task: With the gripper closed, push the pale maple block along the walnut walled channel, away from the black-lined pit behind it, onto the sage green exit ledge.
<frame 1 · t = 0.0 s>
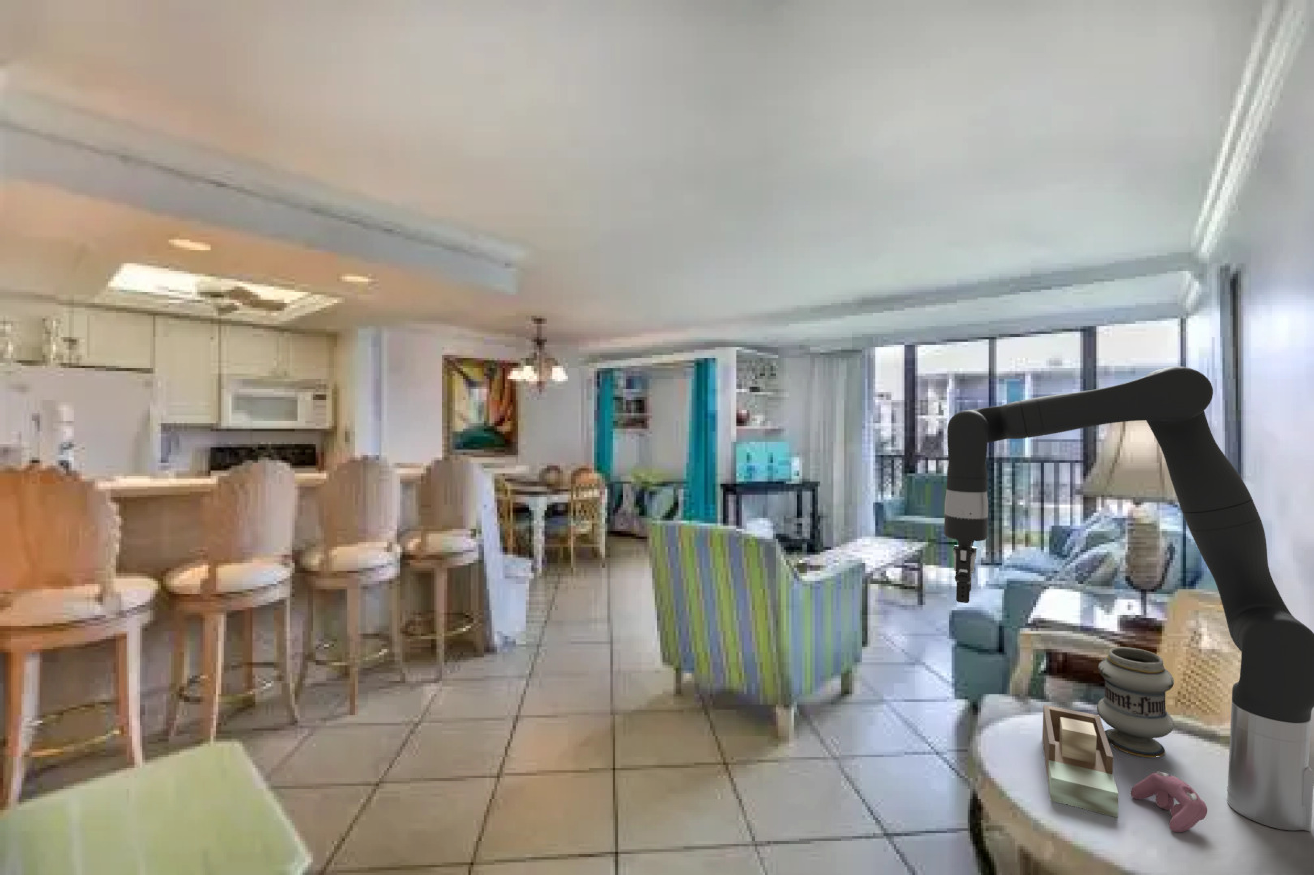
hand: (963, 596, 123), 29 cm above the table, tool pointing down, fingers open, 8 cm apart
video game controller: (1167, 816, 103), on the table
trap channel: (1074, 769, 116), on the table
maple block: (1076, 753, 114), point 4 cm above the table, touching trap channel
apothecary jar: (1132, 745, 125), on the table
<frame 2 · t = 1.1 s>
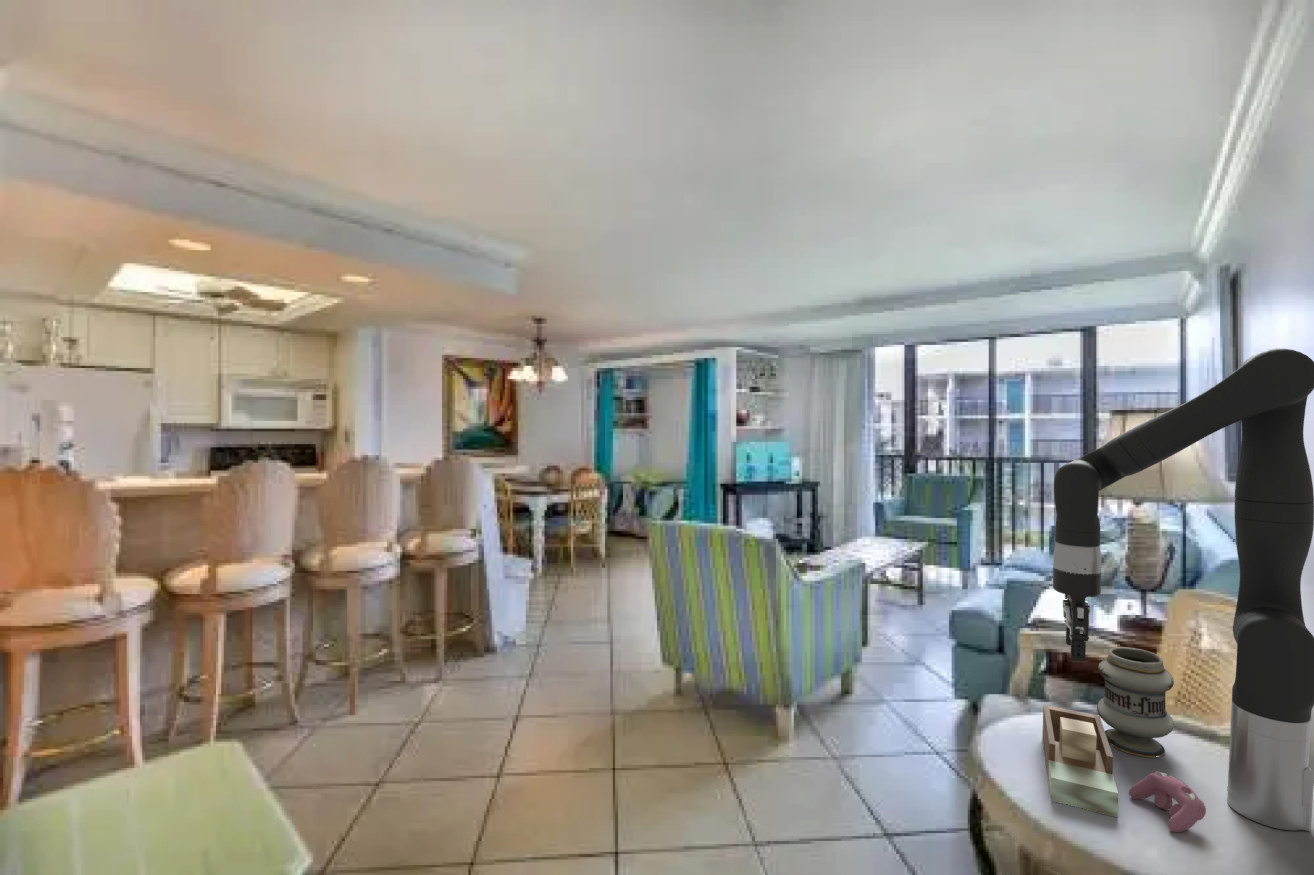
hand: (1075, 652, 120), 20 cm above the table, tool pointing down, fingers open, 8 cm apart
nothing on the table moved.
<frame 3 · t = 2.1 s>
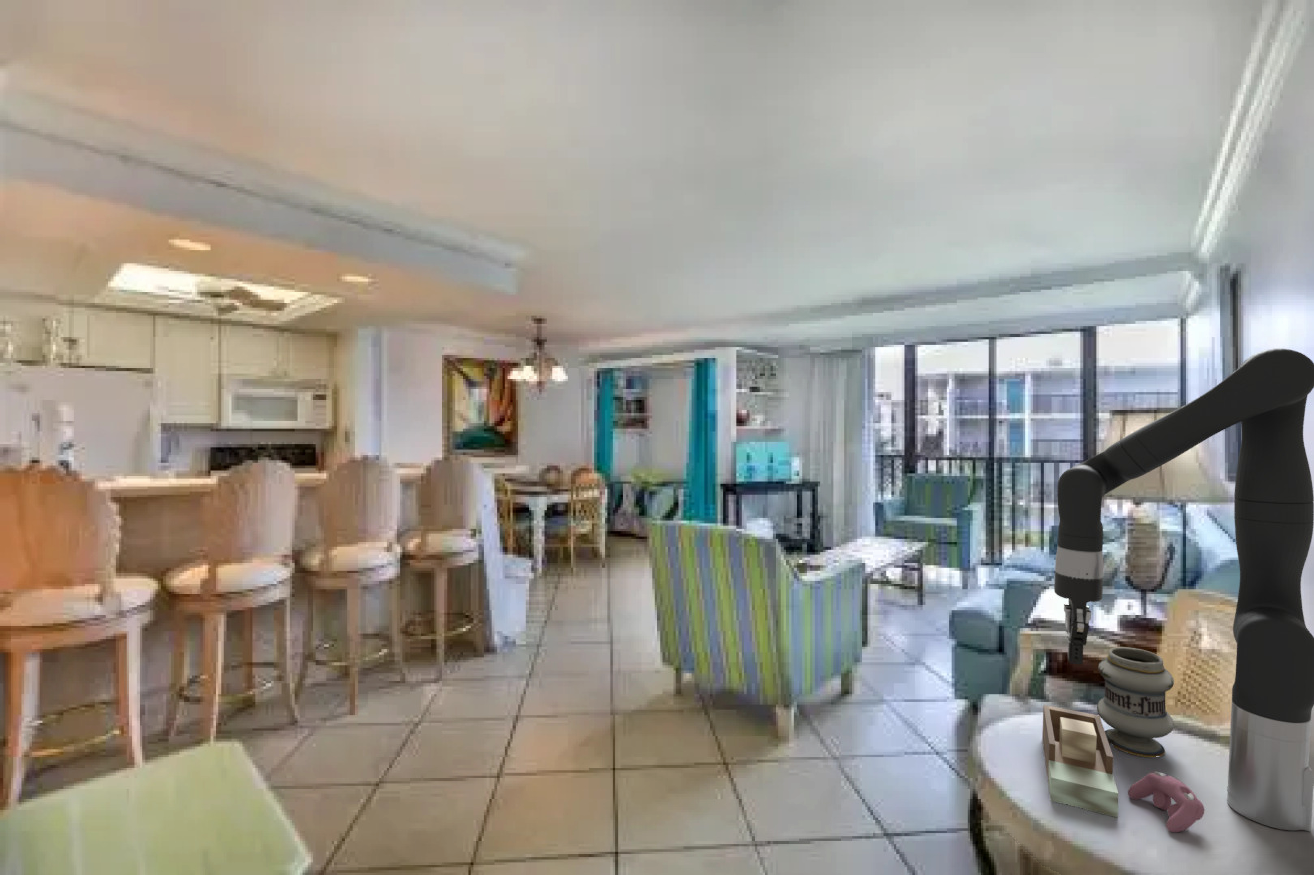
hand: (1075, 662, 120), 18 cm above the table, tool pointing down, fingers closed
nothing on the table moved.
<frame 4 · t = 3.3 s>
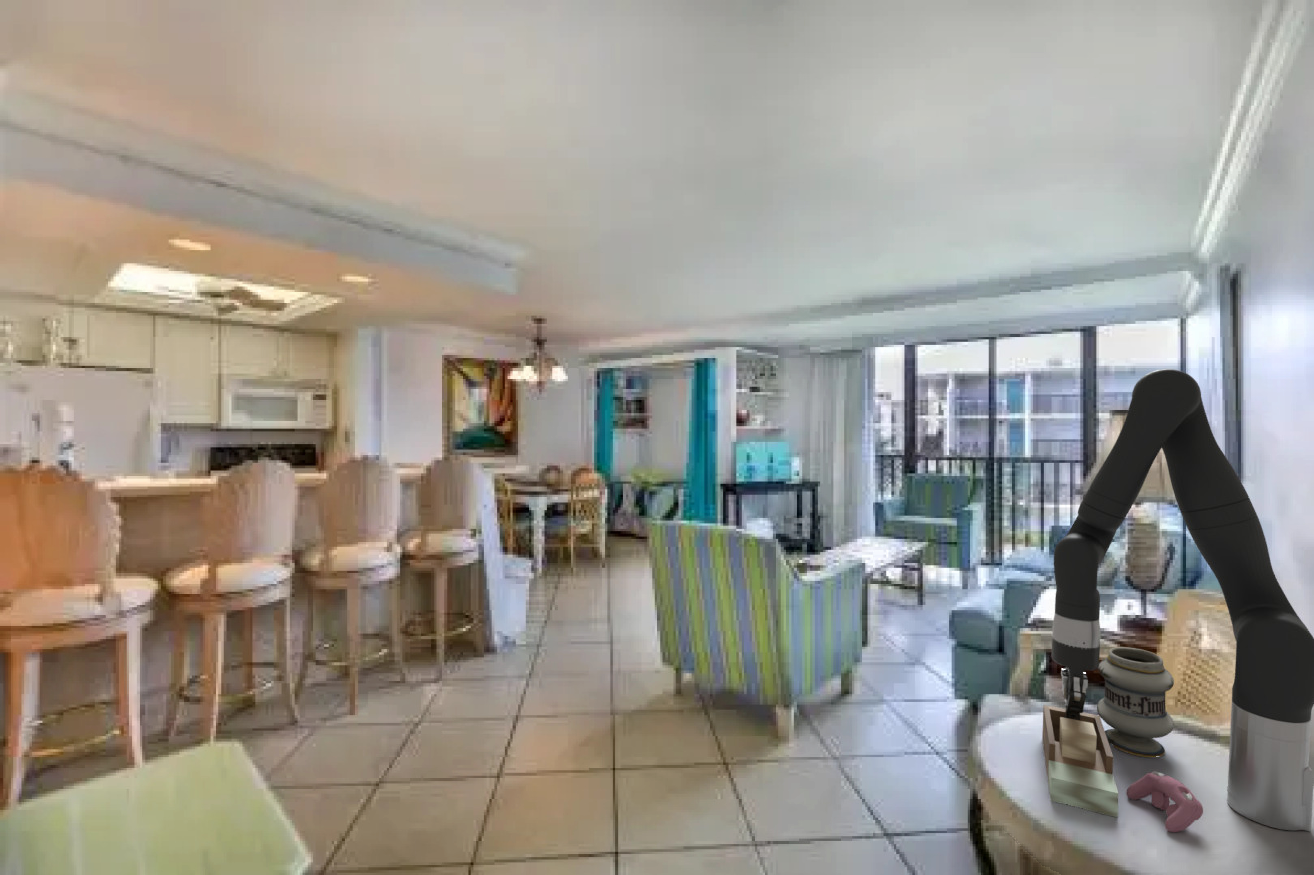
hand: (1072, 728, 120), 5 cm above the table, tool pointing down, fingers closed
nothing on the table moved.
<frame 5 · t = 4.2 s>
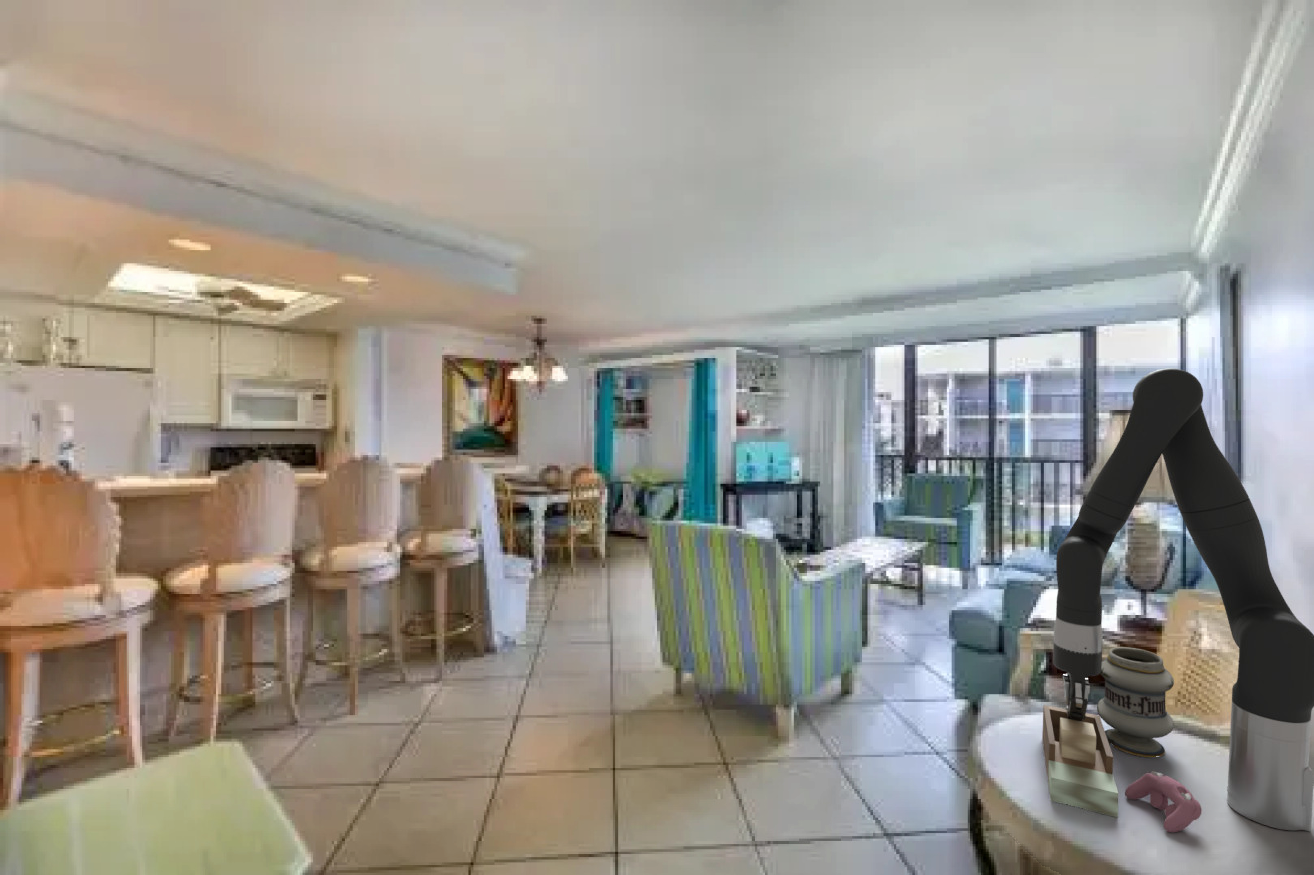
hand: (1074, 735, 118), 5 cm above the table, tool pointing down, fingers closed
maple block: (1076, 753, 114), point 4 cm above the table, touching gripper, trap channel
everything else where it was.
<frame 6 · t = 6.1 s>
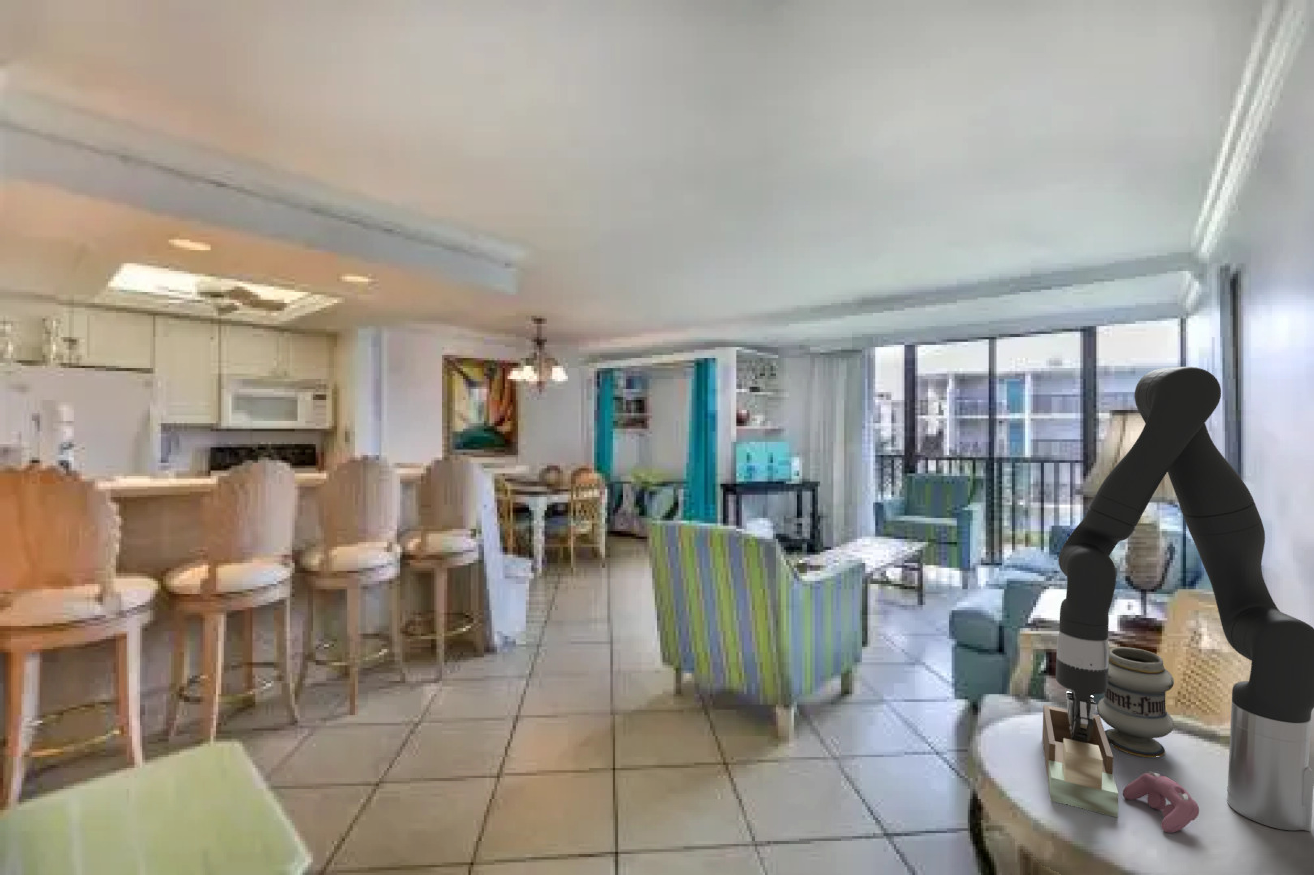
hand: (1078, 756, 111), 5 cm above the table, tool pointing down, fingers closed
maple block: (1081, 777, 106), point 4 cm above the table, touching gripper, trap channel
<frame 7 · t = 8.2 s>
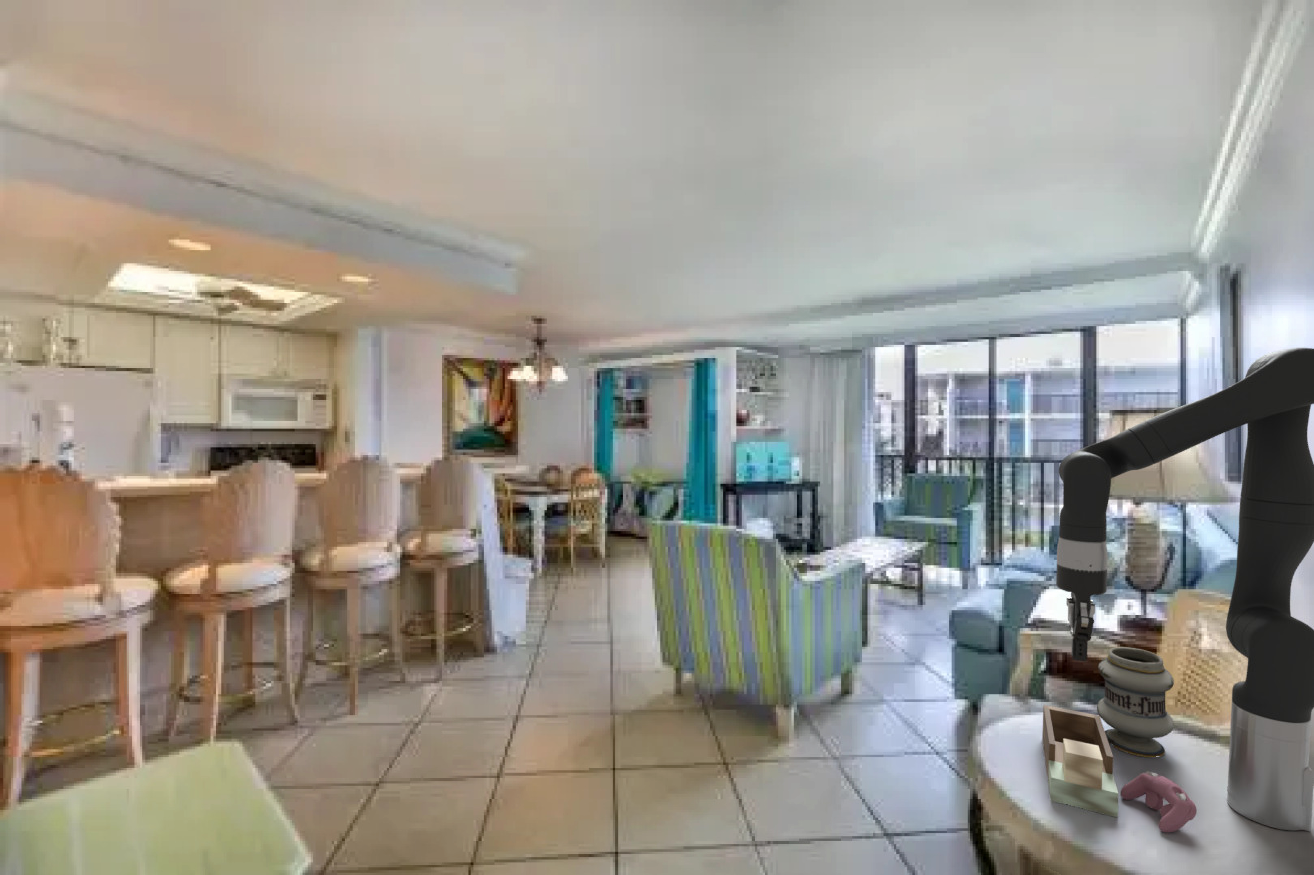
hand: (1079, 659, 114), 21 cm above the table, tool pointing down, fingers closed
maple block: (1081, 778, 106), point 4 cm above the table, touching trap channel
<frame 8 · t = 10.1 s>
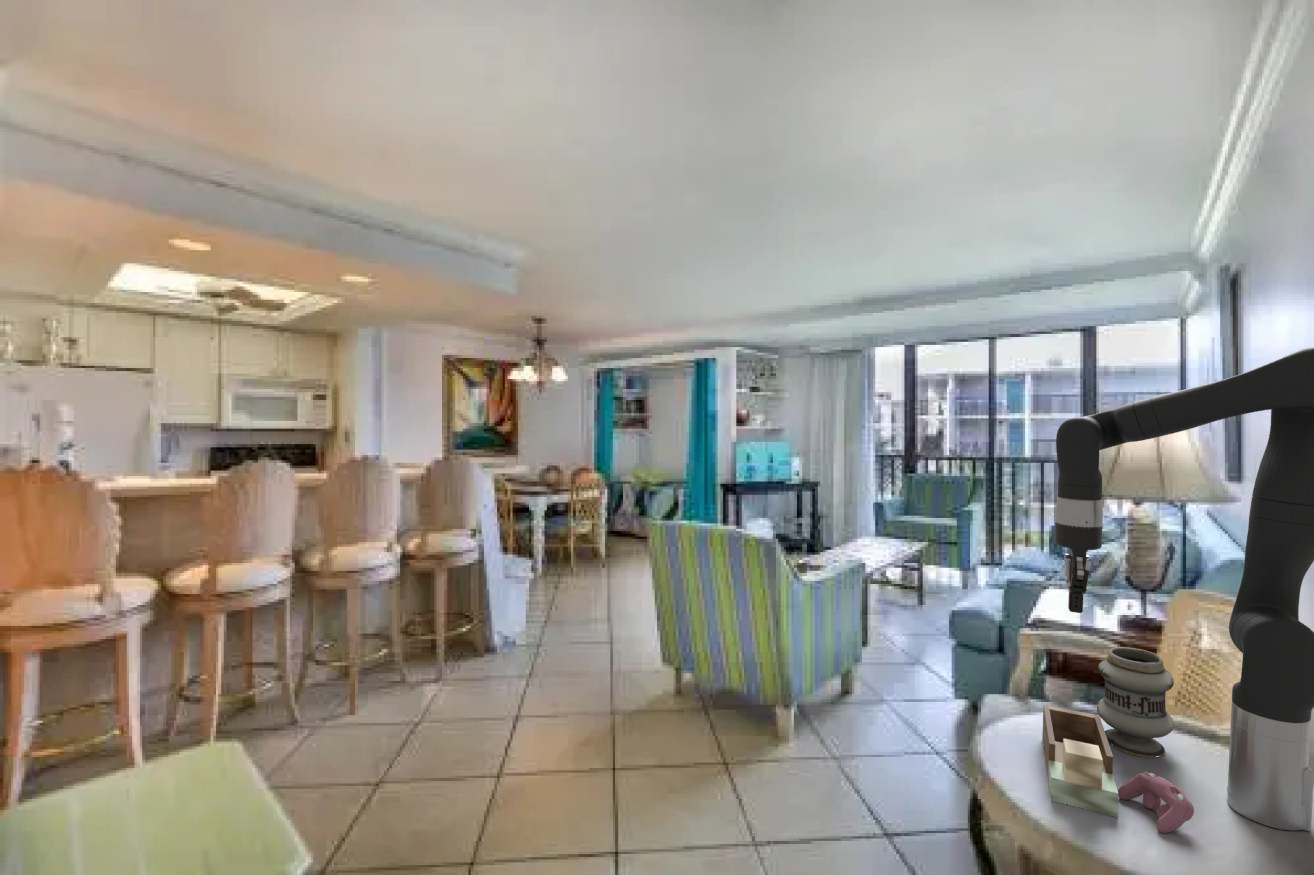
hand: (1075, 611, 122), 27 cm above the table, tool pointing down, fingers closed
at the end: maple block inside the target area (0.8 cm from its centre), point 4.0 cm above the table; maple block tilted 0° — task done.
